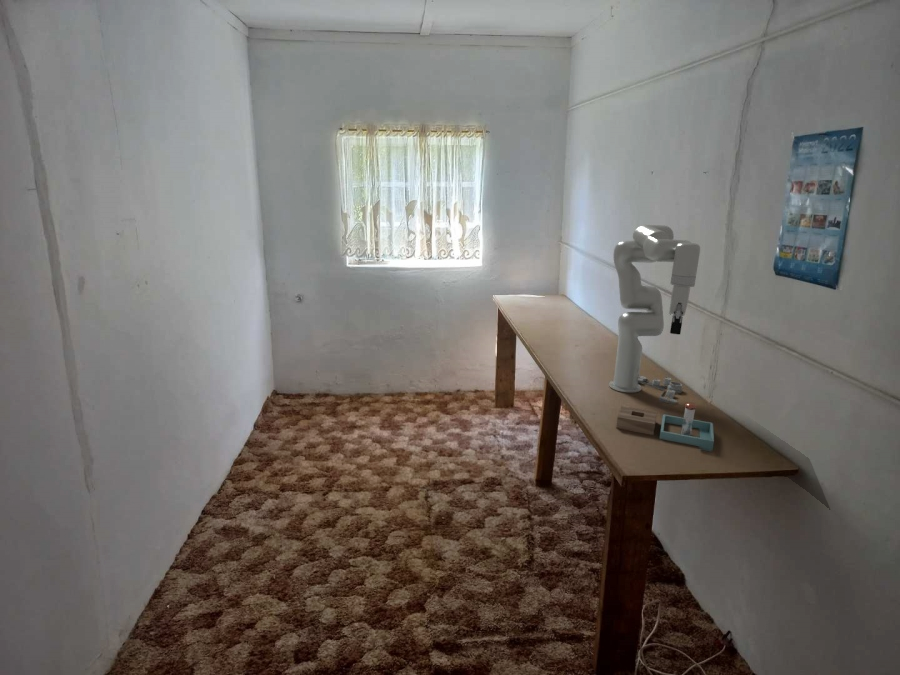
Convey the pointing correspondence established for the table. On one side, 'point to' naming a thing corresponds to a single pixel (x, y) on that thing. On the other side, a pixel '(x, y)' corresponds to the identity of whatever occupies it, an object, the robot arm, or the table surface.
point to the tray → (703, 441)
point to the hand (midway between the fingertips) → (675, 330)
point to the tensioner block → (636, 419)
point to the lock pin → (688, 419)
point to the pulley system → (672, 387)
